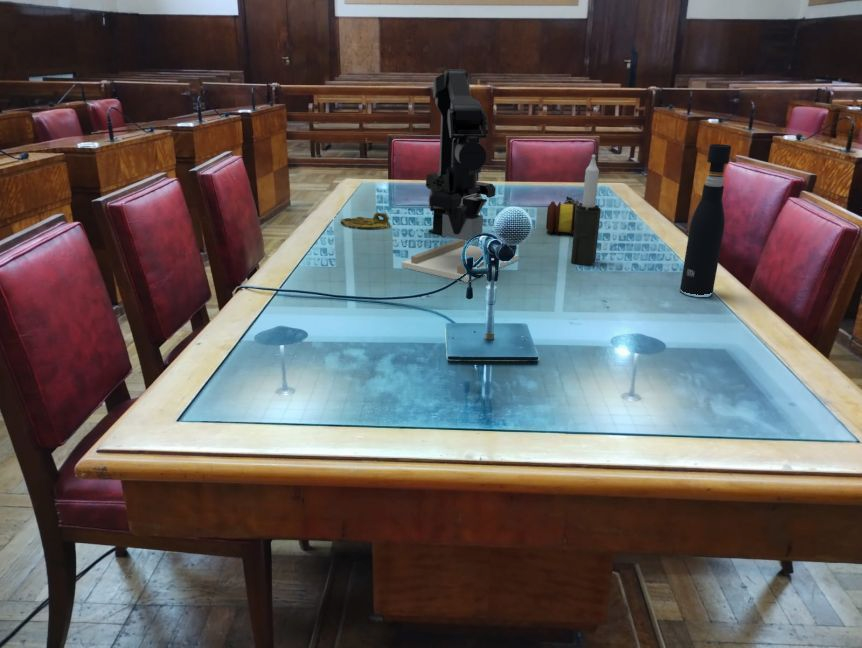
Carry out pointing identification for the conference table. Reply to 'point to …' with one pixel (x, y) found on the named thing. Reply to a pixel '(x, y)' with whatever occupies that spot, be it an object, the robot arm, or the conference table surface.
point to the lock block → (463, 227)
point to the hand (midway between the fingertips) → (462, 232)
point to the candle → (587, 220)
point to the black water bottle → (706, 228)
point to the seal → (367, 222)
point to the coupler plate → (446, 260)
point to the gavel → (562, 216)
